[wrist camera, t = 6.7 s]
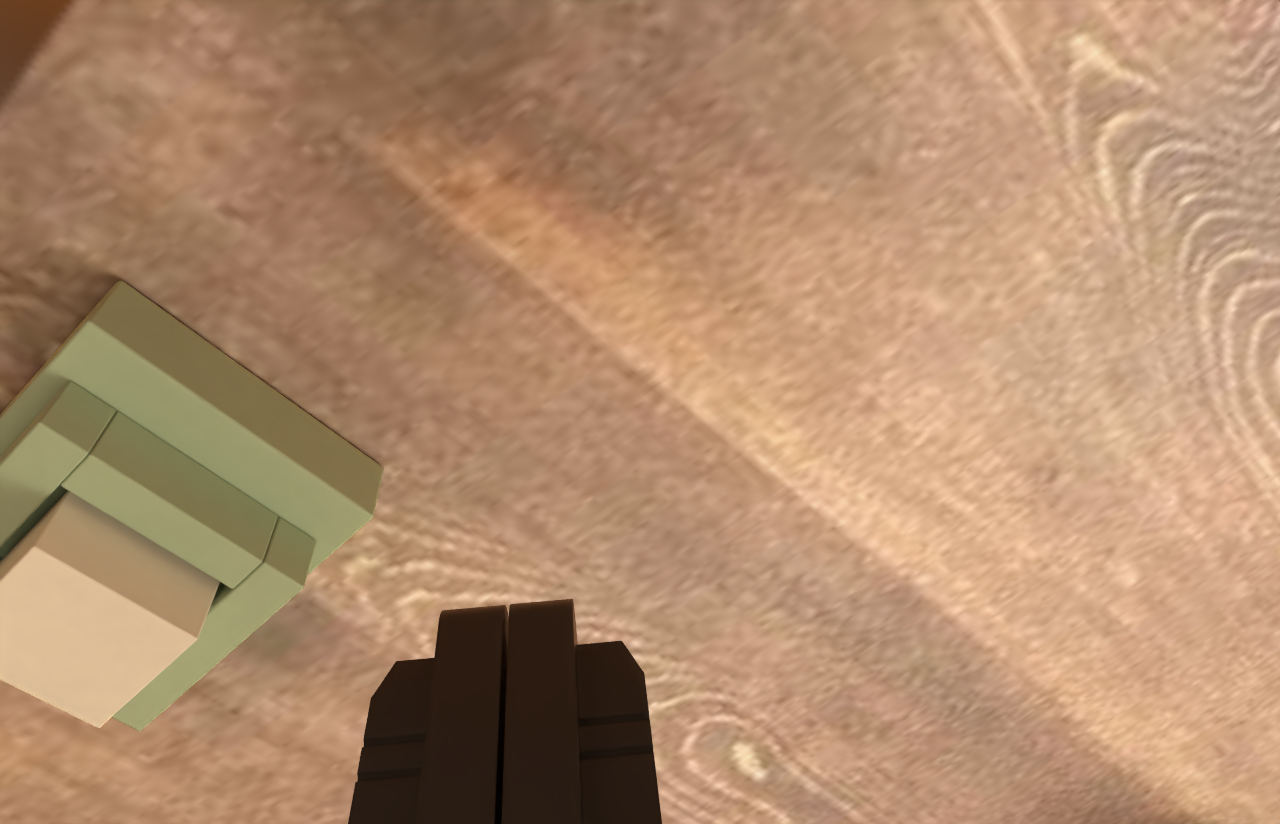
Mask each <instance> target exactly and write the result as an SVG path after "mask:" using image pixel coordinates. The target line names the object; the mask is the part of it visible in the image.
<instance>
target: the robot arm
mask: <svg viewBox="0 0 1280 824" xmlns="http://www.w3.org/2000/svg"><path fill="white" fill-rule="evenodd" d="M357 774H358V781H357V782H356V783H355V789H354V794H353V800H352V805H351V811H350V816H349V822H348V824H662V820H661V811H660V803H659V794H658V786H657V777H656V769H655V761H654V753H653V744H652V735H651V727H650V720H649V710H648V701H647V693H646V685H645V676H644V672H643V671H642V669H641V668H640V666H639V665H638V664H637V662H636V661H635V659H634V658H633V656H632V655H631V653H630V652H629V651H628V649H627V648H626V646H625V645H624V643H623V642H622V641H614V642H603V643H592V644H581V645H578V642H577V632H576V622H575V612H574V603H573V599H565V600H554V601H542V602H531V603H519V604H511V605H510V608H509V616H508V611H507V607H506V605H500V606H488V607H477V608H466V609H454V610H443V611H442V612H441V614H440V618H439V625H438V633H437V642H436V650H435V658H428V659H417V660H406V661H396V663H395V664H394V665H393V667H392V668H391V670H390V671H389V673H388V674H387V676H386V677H385V679H384V680H383V682H382V683H381V685H380V686H379V688H378V689H377V690H376V692H375V693H374V695H373V696H372V698H371V701H370V707H369V712H368V718H367V723H366V729H365V734H364V747H363V748H362V751H361V756H360V762H359V767H358V773H357Z"/></svg>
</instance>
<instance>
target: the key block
mask: <svg viewBox="0 0 1280 824" xmlns="http://www.w3.org/2000/svg"><path fill="white" fill-rule="evenodd" d="M383 470H384V469H383V467H382V466H380V465H379V464H378V463H376V462H375V461H373V460H372V459H371V458H369V457H368V456H366V455H365V454H364V453H362V452H361V451H359V450H358V449H357V448H355V447H354V446H353V445H351V444H350V443H348V442H347V441H346V440H344V439H343V438H341V437H340V436H339V435H337V434H336V433H334V432H333V431H332V430H330V429H329V428H327V427H326V426H325V425H323V424H322V423H320V422H319V421H318V420H316V419H315V418H313V417H312V416H311V415H309V414H308V413H306V412H305V411H304V410H302V409H301V408H299V407H298V406H297V405H295V404H294V403H292V402H291V401H290V400H288V399H287V398H286V397H284V396H283V395H281V394H280V393H279V392H277V391H276V390H274V389H273V388H272V387H270V386H269V385H267V384H266V383H265V382H263V381H262V380H260V379H259V378H258V377H256V376H255V375H253V374H252V373H251V372H249V371H248V370H246V369H245V368H244V367H242V366H241V365H239V364H238V363H237V362H235V361H234V360H232V359H231V358H230V357H228V356H227V355H226V354H224V353H223V352H221V351H220V350H219V349H217V348H216V347H214V346H213V345H212V344H210V343H209V342H207V341H206V340H205V339H203V338H202V337H200V336H199V335H198V334H196V333H195V332H193V331H192V330H191V329H189V328H188V327H186V326H185V325H184V324H182V323H181V322H179V321H178V320H177V319H175V318H174V317H172V316H171V315H170V314H168V313H167V312H165V311H164V310H163V309H161V308H160V307H159V306H157V305H156V304H154V303H153V302H152V301H150V300H149V299H147V298H146V297H145V296H143V295H142V294H140V293H139V292H138V291H136V290H135V289H133V288H132V287H131V286H129V285H128V284H126V283H125V282H124V281H121V280H120V281H118V282H116V284H115V285H114V286H113V287H112V288H111V289H110V290H109V291H108V293H107V294H106V295H105V296H104V297H103V298H102V299H101V301H100V302H99V303H98V304H97V305H96V306H95V307H94V308H93V310H92V311H91V312H90V313H89V314H88V315H87V316H86V318H85V319H84V320H83V321H82V322H81V323H80V324H79V325H78V327H77V328H76V329H75V330H74V331H73V332H72V333H71V334H70V336H69V337H68V338H67V339H66V340H65V341H64V342H63V344H62V345H61V346H60V347H59V348H58V349H57V350H56V351H55V353H54V354H53V355H52V356H51V357H50V358H49V359H48V361H47V362H46V363H45V364H44V365H43V366H42V367H41V368H40V370H39V371H38V372H37V373H36V374H35V375H34V376H33V377H32V379H31V380H30V381H29V382H28V383H27V384H26V385H25V387H24V388H23V389H22V390H21V391H20V392H19V393H18V394H17V396H16V397H15V398H14V399H13V400H12V401H11V402H10V404H9V405H8V406H7V407H6V408H5V409H4V410H3V411H2V413H1V414H0V561H1V560H2V559H3V558H4V557H5V556H6V555H7V554H8V553H9V552H10V551H11V550H12V549H13V548H14V547H15V546H16V545H17V543H18V542H19V541H20V540H21V539H22V538H23V537H24V536H25V535H26V534H27V533H28V532H29V531H30V530H31V529H32V528H33V527H34V526H35V525H36V524H37V523H38V522H39V520H40V519H41V518H42V517H43V516H44V515H45V514H46V513H47V512H48V511H49V510H50V509H51V508H52V507H53V506H54V505H55V504H56V503H57V502H58V501H59V500H60V498H61V497H62V496H63V495H64V494H65V493H66V492H67V491H70V492H72V493H73V494H75V495H77V496H78V497H80V498H82V499H83V500H85V501H87V502H88V503H90V504H92V505H93V506H95V507H97V508H98V509H100V510H102V511H103V512H105V513H107V514H108V515H110V516H112V517H113V518H115V519H117V520H118V521H120V522H121V523H123V524H125V525H126V526H128V527H130V528H131V529H133V530H135V531H136V532H138V533H140V534H141V535H143V536H145V537H146V538H148V539H150V540H151V541H153V542H155V543H156V544H158V545H160V546H161V547H163V548H165V549H166V550H168V551H170V552H171V553H173V554H175V555H176V556H178V557H180V558H181V559H183V560H185V561H186V562H188V563H190V564H191V565H193V566H195V567H196V568H198V569H200V570H201V571H203V572H205V573H206V574H208V575H210V576H211V577H213V578H215V579H216V580H218V581H220V583H219V585H218V588H217V591H216V593H215V596H214V598H213V601H212V603H211V606H210V609H209V611H208V614H207V616H206V619H205V621H204V624H203V627H202V629H201V632H200V634H199V637H198V639H197V640H196V641H195V642H194V643H193V644H192V645H191V646H190V647H189V648H188V649H186V650H185V651H184V652H183V653H182V654H181V655H180V656H179V657H178V658H176V659H175V660H174V661H173V662H172V663H171V664H170V665H169V666H168V667H166V668H165V669H164V670H163V671H162V672H161V673H160V674H159V675H158V676H156V677H155V678H154V679H153V680H152V681H151V682H150V683H149V684H148V685H146V686H145V687H144V688H143V689H142V690H141V691H140V692H139V693H138V694H136V695H135V696H134V697H133V698H132V699H131V700H130V701H129V702H128V703H126V704H125V705H124V706H123V707H122V708H121V709H120V710H119V711H118V712H116V713H115V714H114V715H113V716H112V718H114V719H116V720H118V721H120V722H122V723H124V724H126V725H128V726H130V727H132V728H134V729H136V730H138V731H141V730H143V729H144V728H145V727H146V726H147V725H148V724H149V723H151V722H152V721H153V720H154V719H155V718H156V717H157V716H159V715H160V714H161V713H162V712H163V711H164V710H165V709H167V708H168V707H169V706H170V705H171V704H172V703H173V702H175V701H176V700H177V699H178V698H179V697H180V696H181V695H182V694H184V693H185V692H186V691H187V690H188V689H189V688H190V687H192V686H193V685H194V684H195V683H196V682H197V681H198V680H200V679H201V678H202V677H203V676H204V675H205V674H206V673H208V672H209V671H210V670H211V669H212V668H213V667H214V666H215V665H217V664H218V663H219V662H220V661H221V660H222V659H223V658H225V657H226V656H227V655H228V654H229V653H230V652H231V651H233V650H234V649H235V648H236V647H237V646H238V645H239V644H241V643H242V642H243V641H244V640H245V639H246V638H247V637H248V636H250V635H251V634H252V633H253V632H254V631H255V630H256V629H258V628H259V627H260V626H261V625H262V624H263V623H264V622H266V621H267V620H268V619H269V618H270V617H271V616H272V615H274V614H275V613H276V612H277V611H278V610H279V609H280V608H281V607H283V606H284V605H285V604H286V603H287V602H288V601H289V600H291V599H292V598H293V597H294V596H295V595H296V594H297V593H299V592H300V591H301V590H302V589H303V588H304V585H305V582H306V578H307V575H308V574H309V573H311V572H312V571H313V570H314V569H315V568H316V567H317V566H319V565H320V564H321V563H322V562H323V561H324V560H325V559H326V558H328V557H329V556H330V555H331V554H332V553H333V552H334V551H336V550H337V549H338V548H339V547H340V546H341V545H342V544H343V543H345V542H346V541H347V540H348V539H349V538H350V537H351V536H353V535H354V534H355V533H356V532H357V531H358V530H359V529H360V528H362V527H363V526H364V525H365V524H366V523H367V522H368V521H369V520H371V519H372V518H373V516H374V511H375V507H376V502H377V498H378V493H379V489H380V484H381V479H382V475H383Z"/></svg>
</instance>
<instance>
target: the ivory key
mask: <svg viewBox="0 0 1280 824" xmlns="http://www.w3.org/2000/svg"><path fill="white" fill-rule="evenodd" d="M219 583H220V581H218V580H216V579H215V578H213V577H211V576H210V575H208V574H206V573H205V572H203V571H201V570H200V569H198V568H196V567H195V566H193V565H191V564H190V563H188V562H186V561H185V560H183V559H181V558H180V557H178V556H176V555H175V554H173V553H171V552H170V551H168V550H166V549H165V548H163V547H161V546H160V545H158V544H156V543H155V542H153V541H151V540H150V539H148V538H146V537H145V536H143V535H141V534H140V533H138V532H136V531H135V530H133V529H131V528H130V527H128V526H126V525H125V524H123V523H121V522H120V521H118V520H117V519H115V518H113V517H112V516H110V515H108V514H107V513H105V512H103V511H102V510H100V509H98V508H97V507H95V506H93V505H92V504H90V503H88V502H87V501H85V500H83V499H82V498H80V497H78V496H77V495H75V494H73V493H72V492H70V491H67V492H66V493H65V494H64V495H63V496H62V497H61V498H60V500H59V501H58V502H57V503H56V504H55V505H54V506H53V507H52V508H51V509H50V510H49V511H48V512H47V513H46V514H45V515H44V516H43V517H42V518H41V519H40V520H39V522H38V523H37V524H36V525H35V526H34V527H33V528H32V529H31V530H30V531H29V532H28V533H27V534H26V535H25V536H24V537H23V538H22V539H21V540H20V541H19V542H18V543H17V545H16V546H15V547H14V548H13V549H12V550H11V551H10V552H9V553H8V554H7V555H6V556H5V557H4V558H3V559H2V560H1V561H0V680H2V681H4V682H6V683H8V684H10V685H12V686H14V687H16V688H18V689H20V690H22V691H24V692H26V693H28V694H30V695H32V696H34V697H36V698H38V699H40V700H42V701H44V702H46V703H48V704H50V705H52V706H54V707H56V708H58V709H60V710H62V711H64V712H66V713H68V714H70V715H72V716H74V717H76V718H78V719H80V720H82V721H84V722H86V723H89V724H91V725H93V726H95V727H97V728H100V727H101V726H102V725H103V724H104V723H105V722H106V721H108V720H109V719H110V718H111V717H112V716H113V715H114V714H115V713H116V712H118V711H119V710H120V709H121V708H122V707H123V706H124V705H125V704H126V703H128V702H129V701H130V700H131V699H132V698H133V697H134V696H135V695H136V694H138V693H139V692H140V691H141V690H142V689H143V688H144V687H145V686H146V685H148V684H149V683H150V682H151V681H152V680H153V679H154V678H155V677H156V676H158V675H159V674H160V673H161V672H162V671H163V670H164V669H165V668H166V667H168V666H169V665H170V664H171V663H172V662H173V661H174V660H175V659H176V658H178V657H179V656H180V655H181V654H182V653H183V652H184V651H185V650H186V649H188V648H189V647H190V646H191V645H192V644H193V643H194V642H195V641H196V640H197V639H198V637H199V634H200V632H201V629H202V627H203V624H204V621H205V619H206V616H207V614H208V611H209V609H210V606H211V603H212V601H213V598H214V596H215V593H216V591H217V588H218V585H219Z"/></svg>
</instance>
